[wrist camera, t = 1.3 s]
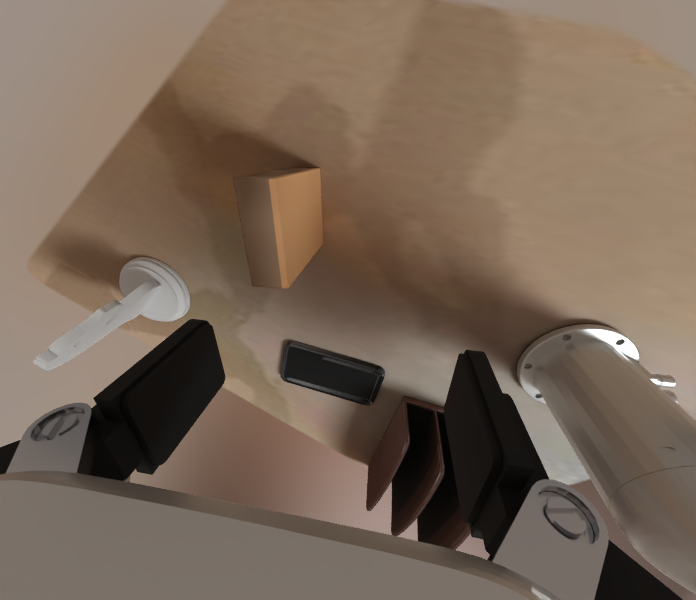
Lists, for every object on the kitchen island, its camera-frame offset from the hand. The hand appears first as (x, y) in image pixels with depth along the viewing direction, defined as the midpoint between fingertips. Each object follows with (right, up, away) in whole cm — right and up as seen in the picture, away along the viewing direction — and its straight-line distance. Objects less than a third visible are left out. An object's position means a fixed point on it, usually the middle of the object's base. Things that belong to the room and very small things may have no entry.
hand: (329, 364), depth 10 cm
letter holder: (+12, -22, +37) cm, 44 cm away
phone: (-2, -8, +32) cm, 33 cm away
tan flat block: (-4, +13, +20) cm, 24 cm away
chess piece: (-26, +4, +29) cm, 39 cm away
